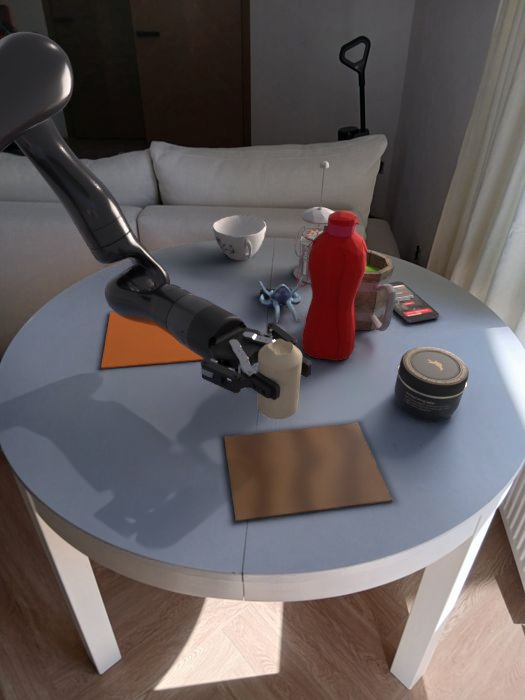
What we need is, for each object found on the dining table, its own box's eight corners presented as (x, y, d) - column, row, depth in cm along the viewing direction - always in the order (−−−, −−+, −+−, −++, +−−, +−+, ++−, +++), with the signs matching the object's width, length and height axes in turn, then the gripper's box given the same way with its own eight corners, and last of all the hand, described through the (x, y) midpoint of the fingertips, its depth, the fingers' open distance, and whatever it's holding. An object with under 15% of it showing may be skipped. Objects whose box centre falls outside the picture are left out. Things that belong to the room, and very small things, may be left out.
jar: (404, 375, 83) (413, 338, 79) (464, 397, 79) (477, 359, 74) (382, 408, 76) (390, 369, 72) (446, 434, 72) (459, 395, 67)
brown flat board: (235, 521, 60) (235, 520, 59) (224, 438, 71) (224, 436, 70) (392, 501, 62) (392, 499, 62) (357, 424, 73) (357, 422, 73)
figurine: (271, 329, 96) (263, 294, 92) (256, 304, 106) (248, 271, 101) (316, 314, 97) (310, 279, 92) (297, 290, 107) (290, 258, 102)
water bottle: (296, 329, 94) (304, 200, 79) (354, 336, 92) (373, 206, 78) (289, 358, 86) (297, 221, 72) (352, 365, 85) (373, 227, 70)
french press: (344, 273, 113) (359, 161, 98) (312, 290, 106) (322, 173, 92) (312, 260, 119) (320, 152, 104) (279, 275, 112) (283, 162, 97)
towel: (101, 368, 83) (100, 367, 83) (110, 313, 98) (110, 312, 97) (207, 359, 86) (207, 358, 86) (201, 307, 100) (201, 305, 100)
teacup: (209, 247, 123) (207, 217, 119) (256, 242, 126) (257, 212, 122) (223, 274, 112) (222, 241, 107) (275, 268, 115) (276, 235, 110)
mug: (320, 307, 101) (325, 253, 94) (366, 298, 104) (374, 245, 97) (359, 349, 89) (368, 291, 82) (409, 338, 92) (422, 281, 85)
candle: (257, 420, 64) (259, 359, 58) (256, 392, 68) (257, 333, 62) (299, 419, 64) (305, 359, 58) (295, 391, 69) (300, 332, 63)
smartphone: (408, 320, 96) (371, 285, 107) (408, 323, 96) (371, 288, 107) (440, 315, 97) (400, 280, 109) (440, 318, 98) (400, 283, 109)
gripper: (162, 326, 64) (255, 385, 55) (240, 288, 73) (332, 334, 64) (167, 370, 69) (254, 432, 59) (240, 330, 77) (326, 379, 68)
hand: (294, 381), depth 62 cm, fingers closed on candle, 5 cm apart
